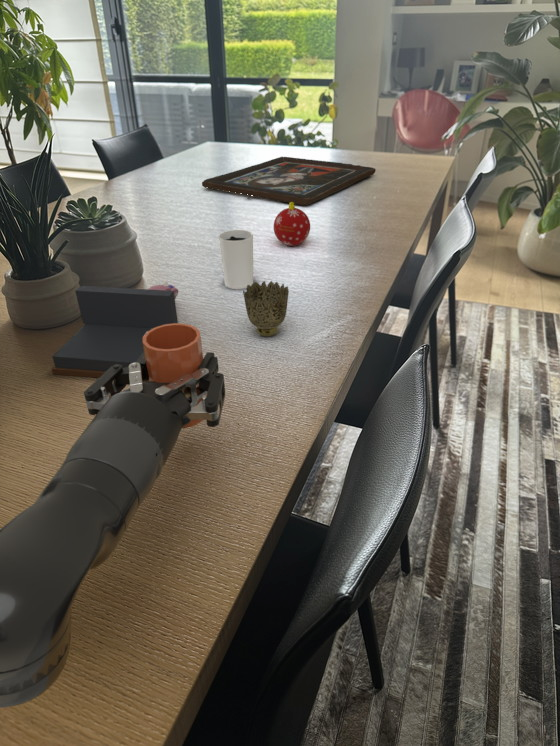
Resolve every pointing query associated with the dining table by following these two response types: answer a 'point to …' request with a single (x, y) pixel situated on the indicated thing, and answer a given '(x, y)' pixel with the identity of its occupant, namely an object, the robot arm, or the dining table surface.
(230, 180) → the religious icon
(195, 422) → the cup
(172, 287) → the video game controller
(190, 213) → the dining table surface
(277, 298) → the cup
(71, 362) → the sofa
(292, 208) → the christmas ornament
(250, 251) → the white cylindrical container
